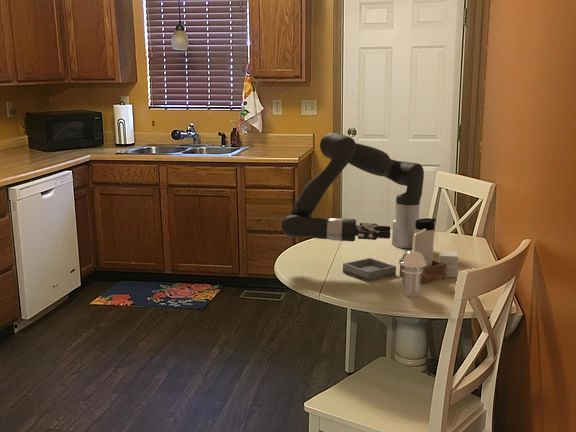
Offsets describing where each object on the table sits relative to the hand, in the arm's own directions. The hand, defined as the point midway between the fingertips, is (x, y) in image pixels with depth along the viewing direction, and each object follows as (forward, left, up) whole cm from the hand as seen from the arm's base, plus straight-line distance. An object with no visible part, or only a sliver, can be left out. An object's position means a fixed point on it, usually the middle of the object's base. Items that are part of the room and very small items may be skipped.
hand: (390, 232), depth 208 cm
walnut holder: (+8, +8, -15) cm, 19 cm away
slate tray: (-5, -4, -15) cm, 16 cm away
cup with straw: (+18, -8, -15) cm, 25 cm away
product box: (+11, +18, -15) cm, 25 cm away
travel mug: (+8, +8, -15) cm, 19 cm away
